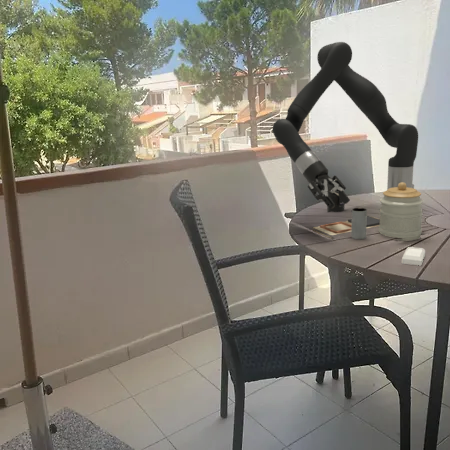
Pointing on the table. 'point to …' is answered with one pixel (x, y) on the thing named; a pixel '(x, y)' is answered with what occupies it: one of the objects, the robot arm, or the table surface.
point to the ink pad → (370, 221)
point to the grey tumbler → (359, 223)
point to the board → (336, 228)
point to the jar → (401, 213)
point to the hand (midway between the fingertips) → (340, 204)
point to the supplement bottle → (336, 202)
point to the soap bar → (413, 256)
